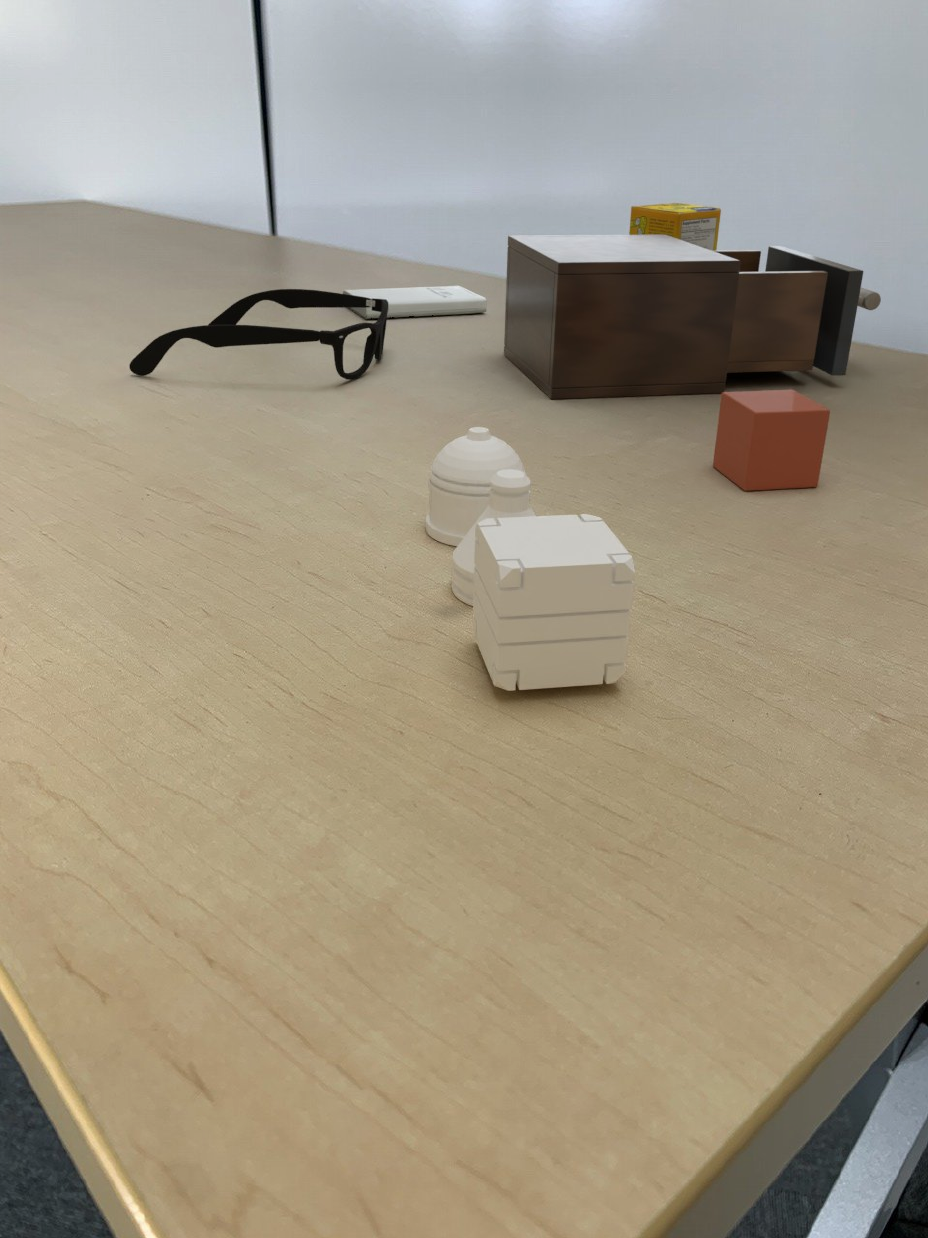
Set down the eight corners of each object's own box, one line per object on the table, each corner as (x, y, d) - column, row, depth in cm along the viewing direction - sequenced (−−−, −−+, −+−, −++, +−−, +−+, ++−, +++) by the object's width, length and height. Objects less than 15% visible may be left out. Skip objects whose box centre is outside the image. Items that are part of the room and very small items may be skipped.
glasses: (348, 405, 81) (349, 336, 78) (123, 377, 83) (118, 310, 81) (404, 356, 95) (406, 297, 93) (211, 333, 98) (209, 275, 96)
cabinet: (655, 350, 96) (666, 234, 92) (724, 393, 83) (741, 260, 79) (503, 354, 93) (507, 235, 89) (551, 399, 80) (558, 262, 76)
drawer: (812, 337, 98) (826, 245, 94) (895, 373, 86) (915, 269, 82) (633, 342, 94) (641, 246, 91) (694, 380, 83) (706, 272, 79)
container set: (626, 692, 42) (640, 559, 40) (492, 701, 41) (497, 566, 39) (514, 509, 60) (519, 409, 57) (419, 513, 59) (419, 412, 56)
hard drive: (343, 305, 112) (457, 299, 116) (366, 320, 105) (486, 313, 109) (342, 288, 111) (457, 283, 115) (366, 303, 104) (487, 296, 108)
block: (781, 462, 68) (792, 389, 66) (818, 487, 64) (831, 409, 62) (712, 466, 67) (721, 391, 65) (744, 491, 63) (755, 412, 61)
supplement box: (661, 320, 108) (672, 201, 103) (709, 330, 104) (723, 207, 99) (619, 327, 105) (629, 204, 100) (667, 338, 100) (680, 210, 96)
